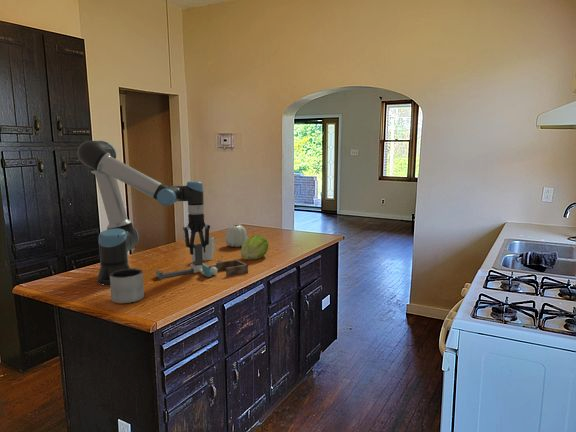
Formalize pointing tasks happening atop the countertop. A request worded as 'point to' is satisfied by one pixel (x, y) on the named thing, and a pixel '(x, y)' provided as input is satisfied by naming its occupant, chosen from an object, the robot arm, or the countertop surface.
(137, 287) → the planter
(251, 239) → the lettuce
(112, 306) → the countertop surface
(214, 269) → the ball
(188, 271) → the rail
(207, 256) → the mug
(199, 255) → the carriage
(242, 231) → the vase
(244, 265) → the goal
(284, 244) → the countertop surface
